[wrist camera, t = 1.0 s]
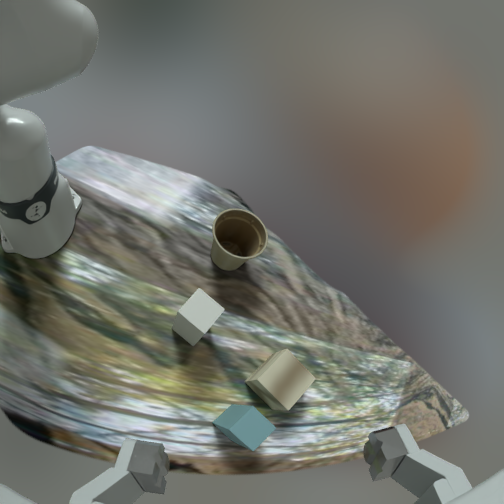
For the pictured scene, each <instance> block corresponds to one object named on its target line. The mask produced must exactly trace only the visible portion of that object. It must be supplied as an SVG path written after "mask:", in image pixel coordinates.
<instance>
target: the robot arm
mask: <svg viewBox="0 0 504 504" xmlns="http://www.w3.org/2000/svg"><path fill="white" fill-rule="evenodd" d="M97 42H98V26H97V22H96V20H95V17H94V15H93V14H92V13H91V11H90V10H89V9H88V8H87V7H86V6H84V5H83V4H81V3H79V2H77V1H75V0H0V232H1V241H2V247H3V249H4V251H5V252H7V253H19V254H21V255H23V256H25V257H28V258H42V257H46V256H48V255H51V254H53V253H54V252H56V251H57V250H58V249H60V248H61V247H62V246H63V245H64V244H65V243H66V241H67V240H68V239H69V237H70V235H71V233H72V231H73V228H74V224H75V217H76V214H77V212H78V211H79V209H80V207H81V205H82V200H81V198H80V197H79V196H78V195H77V194H76V193H75V192H74V191H73V190H72V188H71V187H70V186H69V183H68V181H67V179H64V178H63V176H62V175H60V174H59V173H58V170H57V166H56V163H55V161H54V158H53V157H52V155H51V154H50V150H49V144H48V139H47V134H46V128H45V125H44V124H43V122H42V120H41V119H40V118H39V117H38V116H37V115H36V114H34V113H33V112H31V111H28V110H24V109H19V108H14V107H11V106H9V105H7V103H9V102H12V101H15V100H18V99H21V98H24V97H27V96H30V95H33V94H36V93H40V92H43V91H46V90H48V89H50V88H53V87H55V86H57V85H60V84H62V83H64V82H66V81H68V80H71V79H73V78H75V77H77V76H79V75H81V73H82V72H83V71H84V70H85V68H86V67H87V66H88V64H89V63H90V61H91V59H92V57H93V55H94V53H95V50H96V47H97ZM73 198H74V199H73ZM6 240H7V241H6ZM368 438H369V441H368V442H366V443H365V446H364V452H363V453H364V458H365V461H366V462H367V463H368V464H370V465H371V466H370V468H369V472H370V474H371V477H372V480H373V481H377V480H381V479H385V478H388V477H391V478H392V479H394V480H395V481H396V482H398V483H399V484H400V485H402V486H403V487H404V488H406V489H407V490H408V491H410V492H411V493H412V494H414V495H415V496H417V497H418V498H419V499H418V500H417V501H416V502H415V503H414V504H504V468H503V469H501V470H500V471H498V472H497V473H496V474H494V475H493V476H491V477H490V478H488V479H487V480H485V481H484V482H482V483H480V484H479V485H477V486H475V487H474V488H472V487H471V485H470V483H469V481H468V480H467V478H466V476H465V474H464V472H463V471H462V469H461V468H459V467H457V466H455V465H453V464H451V463H449V462H447V461H445V460H443V459H441V458H439V457H437V456H435V455H433V454H431V453H429V452H427V451H425V450H423V449H421V450H419V447H418V445H417V444H416V442H415V440H414V438H413V436H412V435H411V433H410V431H409V429H408V428H407V426H406V425H405V424H400V425H397V426H393V427H388V428H385V429H381V430H377V431H373V432H371V433H370V434H369V436H368ZM164 449H165V448H164V446H163V444H161V443H154V442H147V441H140V440H135V439H129V438H126V439H125V440H124V441H123V444H122V447H121V450H120V452H119V455H118V458H117V461H116V464H115V467H114V468H112V467H111V468H109V469H108V470H107V471H105V472H104V473H102V474H101V475H99V476H98V477H96V478H95V479H93V480H92V481H90V482H89V483H87V484H86V485H84V486H83V487H82V488H80V489H78V490H76V491H75V492H74V493H73V495H72V497H71V499H70V502H69V504H133V503H134V502H135V501H136V500H137V499H138V498H139V497H140V496H141V495H142V494H143V493H144V492H150V493H158V494H164V492H165V487H166V480H165V478H164V476H166V475H167V474H168V471H169V458H168V455H167V454H166V453H165V452H164ZM0 504H38V503H36V502H34V501H32V500H30V499H28V498H26V497H25V496H23V495H21V494H19V493H17V492H15V491H14V490H12V489H11V488H9V487H8V486H6V485H4V484H2V483H0Z"/></svg>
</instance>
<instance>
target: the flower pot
mask: <svg viewBox="0 0 504 504" xmlns="http://www.w3.org/2000/svg"><path fill="white" fill-rule="evenodd" d="M212 232H213V237H214V239H213V244H212V249H211V258H212V260H213V262H214V263H215V264H216V265H217V266H218V267H219V268H220V269H223V270H227V271H231V270H235V269H237V268H239V267H240V266H241V265H242V264H243V263H245V262H246V261H247V260H248V259H252V258H255V257H257V256H259V255H260V254H261V253H262V252H263V251H264V250H265V248H266V246H267V243H268V233H267V230H266V228H265V226H264V224H263V223H262V221H261V220H260V219H259V218H258V217H257V216H256V215H254V214H252V213H251V212H249V211H246V210H243V209H228V210H225V211H223V212H221V213H220V214H219V215H218V216H217V217H216V218H215V220H214V223H213V227H212ZM224 243H228V244H230V245H223V244H224ZM238 253H240V256H238Z"/></svg>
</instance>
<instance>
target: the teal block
mask: <svg viewBox="0 0 504 504" xmlns="http://www.w3.org/2000/svg"><path fill="white" fill-rule="evenodd" d="M212 423H213V424H214V425H215V426H216V427H217V428H218V429H219V430H220V431H222V432H223V433H224V434H225V435H226V436H227V437H228V438H229V439H230V440H231V441H233V442H235V443H237V444H239V445H241V446H243V447H245V448H247V449H249V450H251V451H254V450H255V449H256V448H257V447H258V446H259V445H260V444H261V443H262V442H263V441H264V440H265V439H266V438H267V437H268V436H269V435H270V434H271V433H272V432H273V431H274V430H275V429H276V427H275V426H274V425H273V424H272V423H271V422H269V421H268V420H267V419H266V418H265V417H264V416H263V415H262V414H261V413H260V412H259V411H258V410H257V409H256V408H255V407H254V406H246V405H234V404H232V405H231V406H230V407H229V408H227V409H226V410H225V411H224V412H223V413H222V414H221V415H220V416H219V417H218V418H217V419H216V420H214V421H213V422H212Z"/></svg>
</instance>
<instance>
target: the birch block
mask: <svg viewBox="0 0 504 504" xmlns="http://www.w3.org/2000/svg"><path fill="white" fill-rule="evenodd" d="M315 379H316V378H315V377H314V376H313V375H312V374H311V373H310V372H309V371H308V370H307V369H306V368H305V367H304V366H303V365H302V364H301V363H300V362H299V361H298V359H297V358H296V357H295V356H294V355H293V354H292V353H291V352H290V351H289V350H288V349H285V350H282V351H279V352H277V353H274V354H272V355H271V356H270V357H269V358H268V359H267V360H266V361H265V362H264V363H263V364H262V365H261V366H260V367H259V368H258V369H257V370H256V371H255V372H254V373H253V374H252V375H251V376H250V377H249V378H248V379H247V380H246V381H245V383H246V384H247V385H248V386H249V387H250V388H251V389H252V390H253V391H254V392H255V393H256V394H257V395H258V396H259V397H260V398H261V399H262V400H263V401H264V402H265V403H266V404H267V405H268V406H269V407H270V408H271V409H273V410H287V411H289V410H290V408H291V407H292V406H293V405H294V404H295V403H296V402H297V400H298V399H299V398H300V397H301V396H302V395H303V393H304V392H305V391H306V390H307V389H308V387H309V386H310V385H311V384H312V383H313V381H314V380H315Z"/></svg>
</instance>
